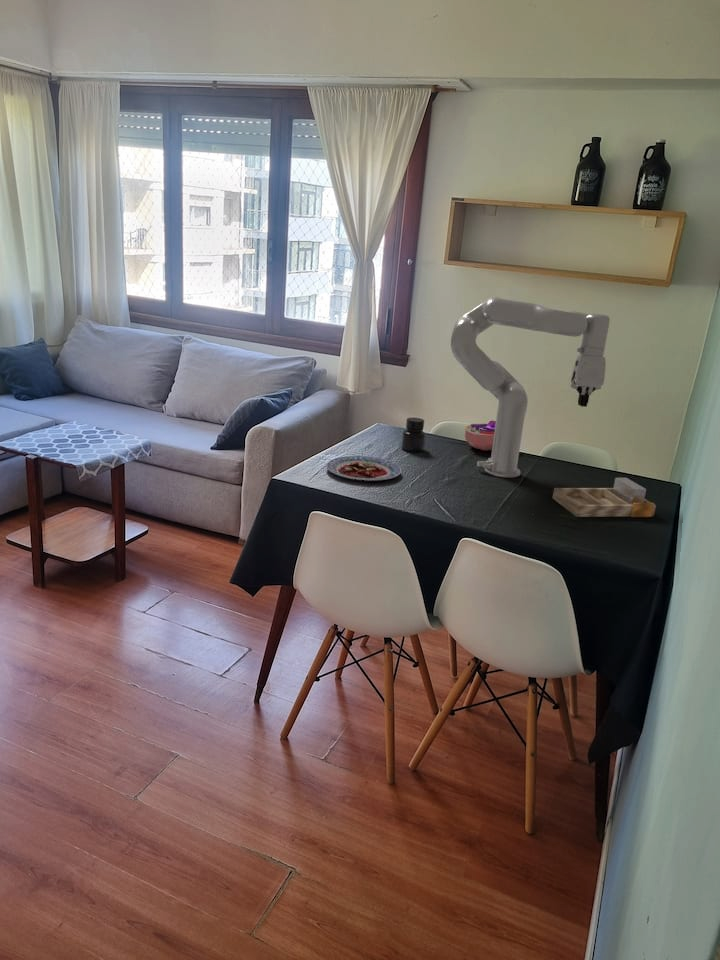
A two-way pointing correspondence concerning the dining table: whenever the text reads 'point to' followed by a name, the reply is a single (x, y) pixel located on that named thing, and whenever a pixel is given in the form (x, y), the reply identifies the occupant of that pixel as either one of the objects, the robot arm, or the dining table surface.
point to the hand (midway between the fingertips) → (582, 405)
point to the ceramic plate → (363, 468)
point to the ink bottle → (414, 435)
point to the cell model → (481, 435)
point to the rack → (600, 503)
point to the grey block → (628, 491)
